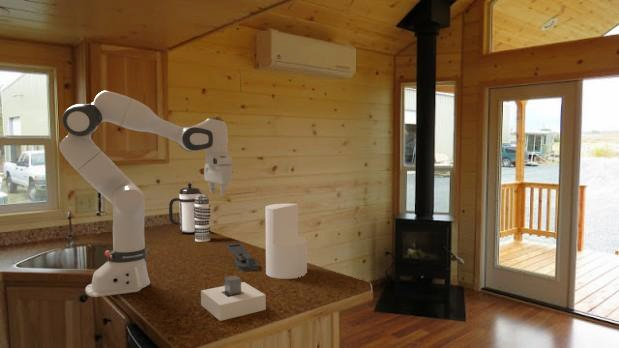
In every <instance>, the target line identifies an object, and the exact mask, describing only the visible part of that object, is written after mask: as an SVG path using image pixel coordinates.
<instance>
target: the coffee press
mask: <svg viewBox="0 0 619 348" xmlns="http://www.w3.org/2000/svg"><path fill="white" fill-rule="evenodd" d="M178 195H179V197H178V198H177V197H174V198H172V199H171V200H170V201H169V203H168V217H169V221H170V223H171V224H172V225H175V226H176V225H177V226H180V230H179V232H178V235H180V236H181V235H183V234H184V233H194V234H195V233H196V232H195V220H194V219H195V217H194V215H195V214H194V212H195V211H194V206H195V199H194V198H196V196H198V195H203V193H202V190H201V189H200V188H199V187H196V186H192V183H191V182H189V183H187V187H182V188H180V189H179V191H178ZM174 202H179V221H175V220H174V215H173V211H174V210H173V204H174Z"/></svg>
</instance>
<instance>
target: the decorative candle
mask: <svg viewBox="0 0 619 348" xmlns="http://www.w3.org/2000/svg"><path fill="white" fill-rule="evenodd" d="M194 199H195V206H194V211H195V212H194V214H195V215H194V217H195V219H194V220H195V232H196V233H194V241H195V242H200V243H203V242H204V243H205V242H209V241H211V237H212V236H211V227H210V226H211V224H210V220H211V218H210V217H211V214H210V213H211V208H210V207H211V205H210V203H209V202H210V200H209V199H210V197H209V196H208V194H207V195H206V194H202V195H198V196H196V198H194Z"/></svg>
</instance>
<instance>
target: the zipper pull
mask: <svg viewBox="0 0 619 348" xmlns="http://www.w3.org/2000/svg"><path fill="white" fill-rule="evenodd" d="M225 248H227V249H228V250H229V252H231V253H232V254H234V256H235V257H236V258H233V265H234V266H235V268H237V269H238V271H242V272H249V271H255V270H258V269H259V262H258V261H256V260H254V257H252V256H251V254H249V253H248V251H247V249H246V248H245V247H244V245H243V244H242V243H241V242H234V243H227V244H225Z"/></svg>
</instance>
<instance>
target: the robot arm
mask: <svg viewBox="0 0 619 348" xmlns="http://www.w3.org/2000/svg"><path fill="white" fill-rule="evenodd" d="M61 121H62V125H63V128H64V129H65V131H67V135H66V136H65V137H64V138H63V139H62V140H61V141H60V143H59V151H60V153H61V155H62V156H63V157H64V159H65V160H66V161H67V162H68V164H70V166H71V167H72V168H73V169H74V170H75V171H76V172H77V173H78V174H79V175H80V176H81V177H82V178H83V179H84V180H85V181H86V182H87V183H88V184H90V186H92V188H93V189H95V190H96V191H97V192H98V193H99V194H101V196H102V197H104V199H106V200H108V202H109V203H111V205H112V240H113V241H112V246H113V249H112V250H105V252H104V255H105V256H106V257H107V260H108V261H106V262H105V263H104V264H103V265H102V266H100V267H99V268H98V269H96V270H95V271H94V273H93V275H92V280H91V283H90V284H88V285H86V287H85V290H84V291H85V294H86V295H87V296H89V297H94V298H97V297H98V298H99V297H105V296H106V297H107V296H116V295H121V294H131V293H137V292H140V291H141V290H142V289H143V288H146V287H148V286H149V285H150V284H151V281H150V278H149V273H148V269H147V248H146V247H145V218H146V217H145V216H146V215H145V214H146V197H145V194H144V192H143V191H142V190H141V189H140V188H139V187H138V186H137V185H136V184H135V183H134V182H133V181H132V180H131V179H130V178H129V177H128V176H127V175H126V174H125V173H124V172H123V171H122V170H121V169H120V168H119V167H118V166H117V165H116V164H115V162H113V161H112V159H110V158H109V157H108V156H107V155H106V154H105V153H104V151H102V150H101V149H100V147H98V146H97V145H96V143H95V142H94V141H93V139H92V136H93V135H94V133H95V131H96V130H97V129H98V127H99V126H100V125H101V123H103V122H105V123H106V122H107V123H111V124H114V125H117V126H119V127H122V128H123V129H124V128H125V129H127V130H131V131H137V132H143V133H144V132H145V133H151V134H154V135H155V134H156V135H158V136H160V137H164V138H166V139H169V140H170V141H173V142H175V143H177V145H178V146H180V148H182V150H183V151H187V152H199V151H201V150H205V164H204V168H203V169H204V173H203V177H204V181H206V182H208V186H209V188H210V189H209V191H210V193H212V194H216V192H217V188H216V185H215V184H219V185H220V186H219V187H220V190H219V196H225V195H226V190H227V185H231V184H232V183H233V166H232V165H234V159H233V158H232V157H231V156H230V155H229V149H228V143H229V135H228V134H229V133H228V132H229V131H228V126H227V123H226V122H225V121H224V120H222V119H219V118H214V117H208V118H206V119H205V120H204V121H202V122H200V123H197V124H195V125H193V126H179V125H178V124H175V123H173V122H170V121H167V120H165V119H163V118H161V117H160V116H158V115H157V114H156V113H155V112H154V111H153V110H152V109H151V108H150V107H149V106H148V105H146V104H144V103H142V102H141V101H139V100H136V99H134V98H132V97H129V96H127V95H124V94H121V93H117V92H114V91H108V90H103V91H101V92H98V94H97V95H96V96H95V98H94V100H93V102H91V103H76V104H73V105H71V106H70V107H68V108H66V109H65V111H64V112H63V114H62V117H61Z"/></svg>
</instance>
